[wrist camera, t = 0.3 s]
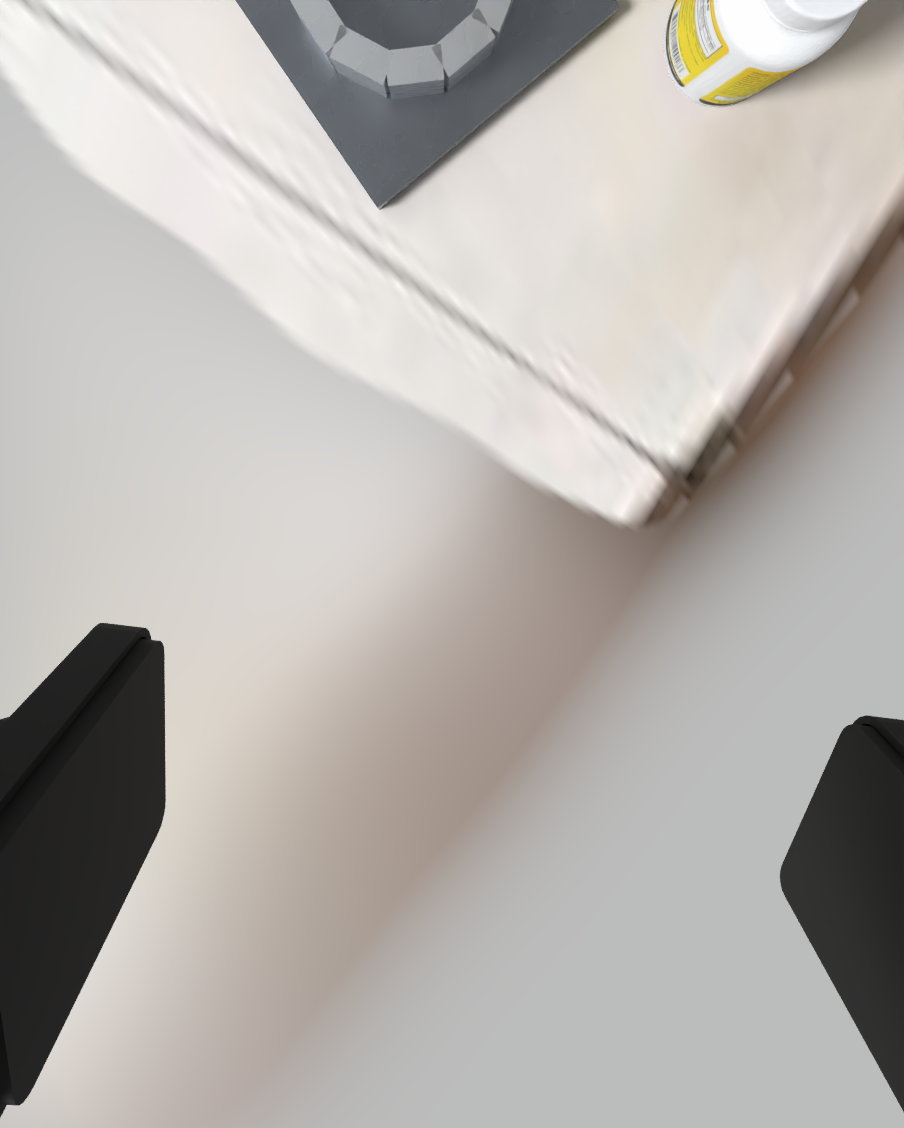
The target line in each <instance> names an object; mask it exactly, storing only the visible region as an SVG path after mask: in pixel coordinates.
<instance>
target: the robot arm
mask: <svg viewBox="0 0 904 1128" xmlns="http://www.w3.org/2000/svg"><path fill="white" fill-rule="evenodd" d="M164 689H165V685H164V646H163V644H162V642H161V641H155V640H151V636H150V633H149V631H148V630H147V629H146V628H141V627H132V626H124V625H115V624H108V623H100V624H98V625H97V626H95V627H94V628H93V629H92V630H91V631H90V633H89V634H88V635H87V636H86V637H85V638H84V639H83V640H82V641H81V642H80V643H79V644H78V645H77V646H76V647H75V648H74V649H73V650H72V651H71V653H70V654H69V655H68V656H67V657H66V658H65V659H64V660H63V661H62V662H61V663H60V664H59V665H58V666H57V667H56V668H55V669H54V671H53V672H52V673H51V674H50V675H49V676H48V677H47V678H46V679H45V680H44V681H43V682H42V683H41V685H39V687H37V689H36V690H35V691H34V692H33V693H32V694H31V695H30V696H29V697H28V698H27V699H26V700H25V701H24V702H23V703H22V705H20V707H19V708H18V709H17V710H16V711H15V712H14V713H13V714H12V715H11V716H10V717H7V718H4V719H1V720H0V1117H1V1115H2V1113H3V1111H4V1109H5V1107H6V1105H20V1104H22V1103H23V1102H24V1101H25V1099H26V1098H27V1096H28V1095H29V1094H30V1092H31V1090H32V1088H33V1087H34V1085H35V1083H36V1081H37V1079H38V1076H39V1075H40V1072H41V1070H42V1068H43V1066H44V1064H45V1062H46V1060H47V1058H48V1056H49V1054H50V1052H51V1050H52V1048H53V1046H54V1044H55V1042H56V1040H57V1038H58V1036H59V1034H60V1032H61V1030H62V1027H63V1026H64V1024H65V1021H66V1020H67V1017H68V1015H69V1013H70V1011H71V1009H72V1007H73V1005H74V1003H75V1001H76V999H77V997H78V995H79V993H80V991H81V989H82V987H83V985H84V983H85V981H86V979H87V977H88V975H89V972H90V971H91V969H92V967H93V964H94V962H95V960H96V958H97V956H98V954H99V952H100V950H101V948H102V946H103V944H104V942H105V940H106V938H107V936H108V934H109V932H110V930H111V928H112V926H113V923H114V922H115V920H116V918H117V916H118V914H119V912H120V909H121V907H122V905H123V903H124V901H125V899H126V897H127V895H128V893H129V891H130V889H131V887H132V885H133V883H134V881H135V879H136V877H137V875H138V873H139V871H140V868H141V867H142V864H143V863H144V861H145V859H146V857H147V854H148V852H149V850H150V848H151V846H152V844H153V842H154V840H155V838H156V836H157V834H158V832H159V829H160V827H161V824H162V820H163V816H164V811H165V800H166V799H165V690H164ZM780 882H781V887H782V891H783V893H784V895H785V897H786V899H787V901H788V903H789V904H790V906H791V908H792V910H793V912H794V914H795V915H796V917H797V919H798V921H799V923H800V924H801V926H802V928H803V930H804V932H805V933H806V935H807V937H808V939H809V941H810V943H811V944H812V946H813V948H814V950H815V951H816V953H817V955H818V957H819V959H820V960H821V962H822V964H823V966H824V968H825V970H826V972H827V973H828V975H829V977H830V979H831V981H832V982H833V984H834V986H835V988H836V990H837V992H838V993H839V995H840V996H841V999H842V1000H843V1002H844V1004H845V1006H846V1008H847V1010H848V1011H849V1013H850V1015H851V1017H852V1019H853V1020H854V1022H855V1024H856V1026H857V1028H858V1030H859V1031H860V1033H861V1035H862V1037H863V1039H864V1040H865V1042H866V1044H867V1046H868V1048H869V1050H870V1051H871V1053H872V1055H873V1057H874V1058H875V1060H876V1062H877V1064H878V1066H879V1068H880V1070H881V1071H882V1073H883V1075H884V1077H885V1079H886V1080H887V1082H888V1084H889V1086H890V1088H891V1090H892V1091H893V1093H894V1095H895V1097H896V1098H897V1100H898V1102H899V1104H900V1106H901V1108H902V1109H903V1111H904V720H898V719H889V718H881V717H873V716H863V717H860V718H858V719H857V720H856V721H855V722H854V723H853V724H852V725H848V726H846V727H845V728H844V729H843V731H842V732H841V734H840V736H839V738H838V741H837V743H836V745H835V747H834V750H833V752H832V754H831V756H830V759H829V761H828V763H827V765H826V767H825V770H824V772H823V774H822V776H821V779H820V781H819V783H818V785H817V788H816V790H815V792H814V795H813V797H812V799H811V801H810V804H809V805H808V808H807V810H806V812H805V814H804V817H803V819H802V821H801V823H800V826H799V828H798V830H797V832H796V835H795V837H794V839H793V842H792V844H791V846H790V848H789V850H788V853H787V855H786V857H785V859H784V861H783V864H782V867H781V871H780Z"/></svg>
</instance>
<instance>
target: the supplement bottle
mask: <svg viewBox="0 0 904 1128" xmlns="http://www.w3.org/2000/svg"><path fill="white" fill-rule="evenodd" d="M867 1H868V0H675V2H674V4H673V6H672V8H671V10H670V13H669V16H668V19H667V23H666V27H665V34H664V56H665V62H666V66H667V69H668V72H669V75H670V77H671V79H672V81H673V83H674V84H675V86H676V87H677V88H678V89H679V91H680V92H681V93H682V94H683V95H684V96H686V97H687V98H688V99H690V100H691V101H693V102H695V103H697V104H700V105H703V106H707V107H725V106H729V105H733V104H735V103H738V102H740V101H742V100H745V99H747V98H748V97H750V96H752V95H754V94H756V93H758V92H759V91H761V90H762V89H764V88H766V87H768V86H769V85H771V84H773V83H775V82H776V81H778V80H780V79H782V78H784V77H785V76H787V75H789V74H791V73H792V72H794V71H796V70H798V69H800V68H802V67H803V66H805V65H807V64H809V63H810V62H812V61H814V60H815V59H817V58H818V57H819V56H821V55H822V54H823V53H825V52H826V51H827V50H829V49H830V48H831V47H832V46H833V45H834V44H835V43H836V42H837V41H838V40H839V39H840V38H841V37H842V36H843V34H844V33H845V32H846V30H847V29H848V28H849V26H850V24H851V23H852V21H853V20H854V18H855V16H856V15H857V13H858V11H859V9H860V7H861V6H862V5H863V4H865V3H866V2H867Z"/></svg>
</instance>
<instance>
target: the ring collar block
mask: <svg viewBox="0 0 904 1128" xmlns="http://www.w3.org/2000/svg"><path fill="white" fill-rule="evenodd" d="M236 2H237V3H238V5H239V6H240V7H241V9H242V10H243V12H244V13H245V15H246V16H247V18H248V19H249V21H250V22H251V24H252V25H253V26H254V28H255V29H256V31H257V32H258V34H259V35H260V37H261V38H262V40H263V41H264V43H265V44H266V45H267V47H268V48H269V50H270V51H271V53H272V54H273V56H274V57H275V59H276V60H277V62H278V63H279V64H280V66H281V67H282V69H283V70H284V72H285V73H286V75H287V76H288V78H289V79H290V80H291V82H292V83H293V85H294V86H295V88H296V89H297V91H298V92H299V94H300V95H301V97H302V98H303V99H304V101H305V102H306V104H307V105H308V107H309V108H310V110H311V111H312V113H313V114H314V116H315V117H316V118H317V120H318V121H319V123H320V124H321V126H322V127H323V129H324V130H325V132H326V133H327V134H328V136H329V137H330V139H331V140H332V142H333V143H334V145H335V146H336V148H337V149H338V151H339V152H340V153H341V155H342V156H343V158H344V159H345V161H346V162H347V164H348V165H349V167H350V168H351V170H352V171H353V172H354V174H355V175H356V177H357V178H358V180H359V181H360V183H361V184H362V186H363V187H364V189H365V190H366V191H367V193H368V194H369V196H370V197H371V199H372V200H373V202H374V203H375V205H376V206H377V207H378V209H379V210H380V209H381V208H382V207H383V206H384V205H386V204H387V203H388V202H389V201H390V200H392V199H393V198H394V197H395V196H396V195H398V194H399V193H400V192H401V191H402V190H404V189H405V188H406V187H407V186H408V185H410V184H411V183H412V182H413V181H414V180H416V179H417V178H418V177H419V176H420V175H422V174H423V173H424V172H425V171H426V170H428V169H429V168H430V167H431V166H432V165H434V164H435V163H436V162H437V161H438V160H440V159H441V158H442V157H443V156H444V155H446V154H447V153H448V152H449V151H450V150H452V149H453V148H454V147H455V146H456V145H458V144H459V143H460V142H461V141H462V140H464V139H465V138H466V137H467V136H468V135H470V134H471V133H472V132H473V131H474V130H476V129H477V128H478V127H479V126H480V125H482V124H483V123H484V122H485V121H486V120H488V119H489V118H490V117H491V116H492V115H494V114H495V113H496V112H497V111H498V110H500V109H501V108H502V107H503V106H505V105H506V104H507V103H508V102H509V101H511V100H512V99H513V98H514V97H515V96H517V95H518V94H519V93H520V92H521V91H523V90H524V89H525V88H526V87H527V86H529V85H530V84H531V83H532V82H533V81H535V80H536V79H537V78H538V77H539V76H541V75H542V74H543V73H544V72H545V71H547V70H548V69H549V68H550V67H551V66H553V65H554V64H555V63H556V62H557V61H559V60H560V59H561V58H562V57H563V56H565V55H566V54H567V53H568V52H569V51H571V50H572V49H573V48H574V47H575V46H577V45H578V44H579V43H580V42H581V41H583V40H584V39H585V38H586V37H587V36H589V35H590V34H591V33H592V32H593V31H595V30H596V29H597V28H598V27H599V26H601V25H602V24H603V23H604V22H605V21H607V20H608V19H609V18H610V17H611V16H613V15H614V13H615V12H616V11H617V9H618V8H619V6H618V4H617V3H616V1H615V0H236Z"/></svg>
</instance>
